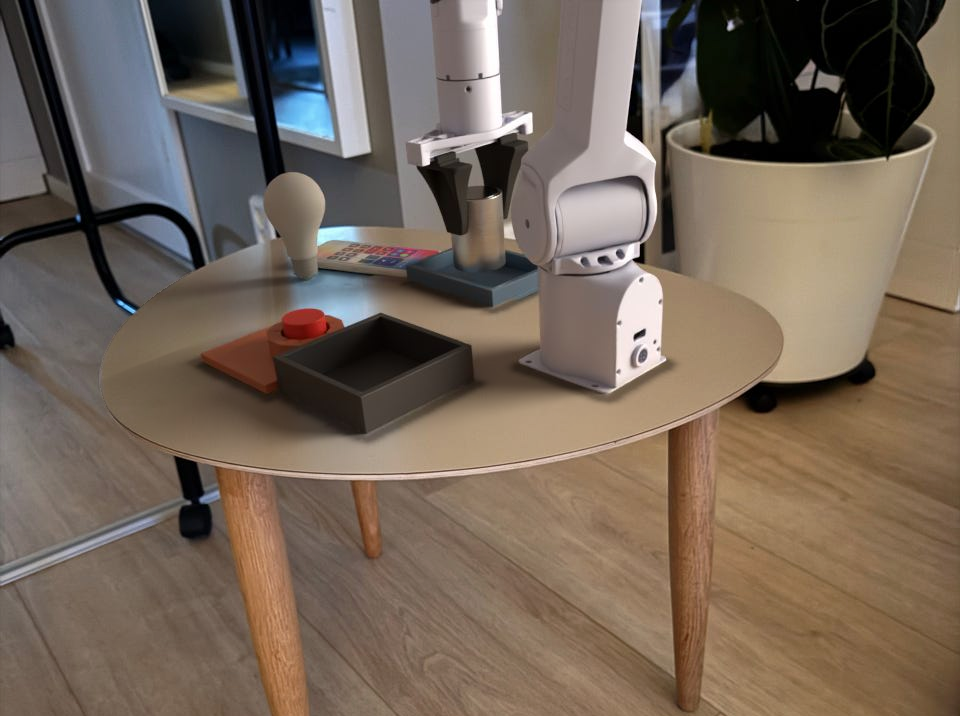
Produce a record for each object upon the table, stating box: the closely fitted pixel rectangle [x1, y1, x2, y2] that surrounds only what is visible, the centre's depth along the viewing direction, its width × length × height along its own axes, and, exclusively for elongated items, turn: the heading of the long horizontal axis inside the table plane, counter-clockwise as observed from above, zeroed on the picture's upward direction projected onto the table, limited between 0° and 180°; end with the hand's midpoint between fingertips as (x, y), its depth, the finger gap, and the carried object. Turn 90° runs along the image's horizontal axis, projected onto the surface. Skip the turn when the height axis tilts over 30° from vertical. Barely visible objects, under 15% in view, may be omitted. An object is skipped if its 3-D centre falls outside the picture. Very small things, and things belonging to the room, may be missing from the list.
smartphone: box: [316, 239, 441, 278], centre depth 102 cm, size 7×1×15 cm
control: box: [200, 314, 345, 395], centre depth 81 cm, size 10×10×3 cm
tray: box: [406, 247, 538, 308], centre depth 94 cm, size 12×9×2 cm
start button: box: [281, 307, 327, 340], centre depth 80 cm, size 4×4×2 cm
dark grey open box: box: [273, 312, 475, 435], centre depth 75 cm, size 11×11×4 cm
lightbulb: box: [262, 171, 326, 281], centre depth 96 cm, size 6×6×11 cm
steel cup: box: [450, 184, 506, 273], centre depth 92 cm, size 5×5×7 cm
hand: (477, 225), depth 92 cm, fingers closed on steel cup, 5 cm apart
